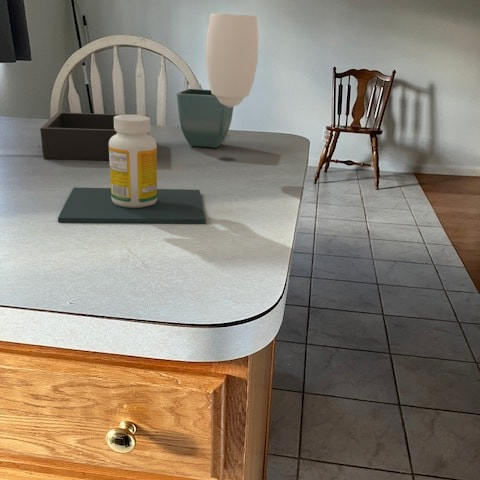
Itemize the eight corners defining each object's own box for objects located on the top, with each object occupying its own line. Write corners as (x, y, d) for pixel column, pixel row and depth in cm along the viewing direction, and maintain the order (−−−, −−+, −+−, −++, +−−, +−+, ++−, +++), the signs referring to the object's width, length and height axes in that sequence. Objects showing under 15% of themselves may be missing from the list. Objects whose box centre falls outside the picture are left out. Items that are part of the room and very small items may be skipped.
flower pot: (187, 138, 103) (188, 87, 98) (233, 142, 102) (236, 91, 97) (175, 147, 95) (175, 92, 91) (225, 152, 94) (227, 96, 90)
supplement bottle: (110, 208, 62) (105, 120, 57) (112, 195, 66) (107, 112, 62) (158, 209, 63) (156, 122, 58) (156, 195, 67) (155, 114, 63)
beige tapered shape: (214, 177, 79) (219, 13, 69) (196, 165, 84) (198, 12, 74) (258, 174, 82) (269, 16, 72) (238, 163, 87) (246, 15, 77)
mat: (58, 222, 58) (57, 217, 58) (73, 191, 69) (73, 187, 69) (205, 223, 61) (205, 219, 60) (199, 193, 71) (199, 189, 71)
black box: (43, 158, 83) (40, 128, 81) (60, 138, 96) (57, 112, 94) (147, 161, 85) (146, 131, 83) (149, 141, 98) (148, 115, 96)
